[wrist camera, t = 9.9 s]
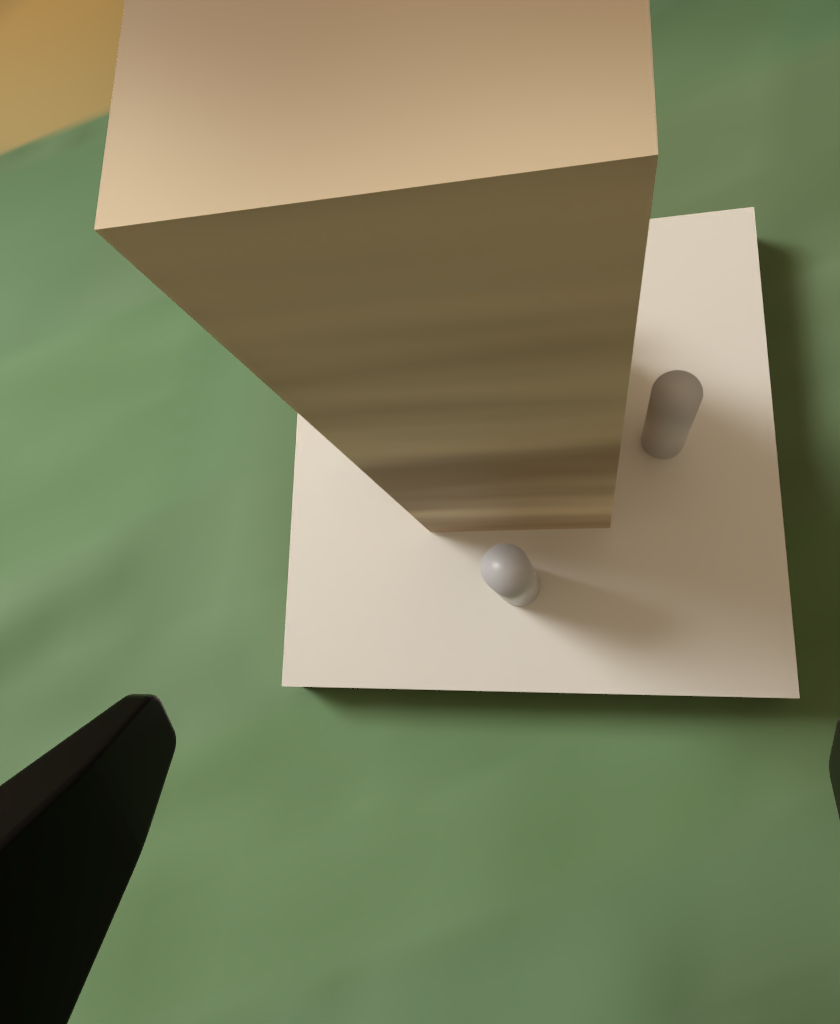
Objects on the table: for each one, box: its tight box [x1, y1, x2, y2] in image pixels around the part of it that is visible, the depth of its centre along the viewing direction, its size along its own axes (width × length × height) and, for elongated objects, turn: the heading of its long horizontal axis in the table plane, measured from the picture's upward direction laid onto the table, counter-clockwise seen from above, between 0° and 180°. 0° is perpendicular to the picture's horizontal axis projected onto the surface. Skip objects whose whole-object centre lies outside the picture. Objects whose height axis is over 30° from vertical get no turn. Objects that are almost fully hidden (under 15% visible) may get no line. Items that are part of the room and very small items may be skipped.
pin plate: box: [282, 207, 800, 698], centre depth 17 cm, size 12×12×4 cm
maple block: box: [94, 0, 658, 532], centre depth 12 cm, size 4×4×13 cm
